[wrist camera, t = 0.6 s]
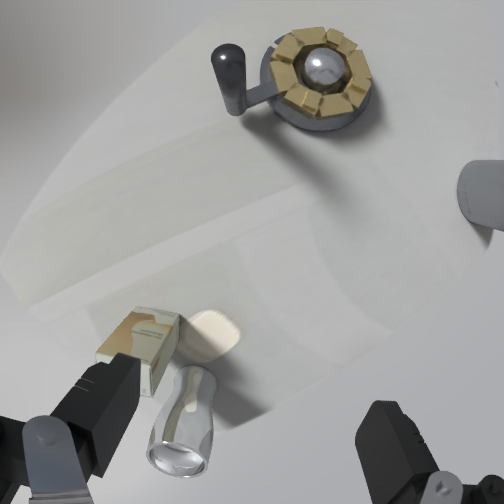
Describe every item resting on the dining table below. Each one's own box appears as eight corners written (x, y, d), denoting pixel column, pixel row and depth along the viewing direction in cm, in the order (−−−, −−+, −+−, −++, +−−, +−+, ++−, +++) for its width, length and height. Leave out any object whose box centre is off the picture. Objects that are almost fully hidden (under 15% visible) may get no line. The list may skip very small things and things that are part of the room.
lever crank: (345, 32, 28) (390, -29, 15) (373, 111, 31) (440, 78, 17) (211, 56, 29) (189, -12, 15) (235, 139, 31) (225, 109, 18)
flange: (347, 30, 30) (360, 11, 24) (379, 122, 33) (399, 114, 27) (247, 44, 30) (246, 23, 25) (277, 142, 33) (281, 134, 28)
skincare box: (180, 312, 38) (154, 366, 26) (179, 342, 39) (155, 400, 27) (133, 305, 37) (92, 351, 26) (133, 334, 38) (97, 386, 27)
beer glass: (173, 357, 39) (143, 433, 25) (223, 368, 40) (213, 449, 25) (169, 394, 41) (144, 470, 26) (216, 404, 41) (205, 483, 26)
